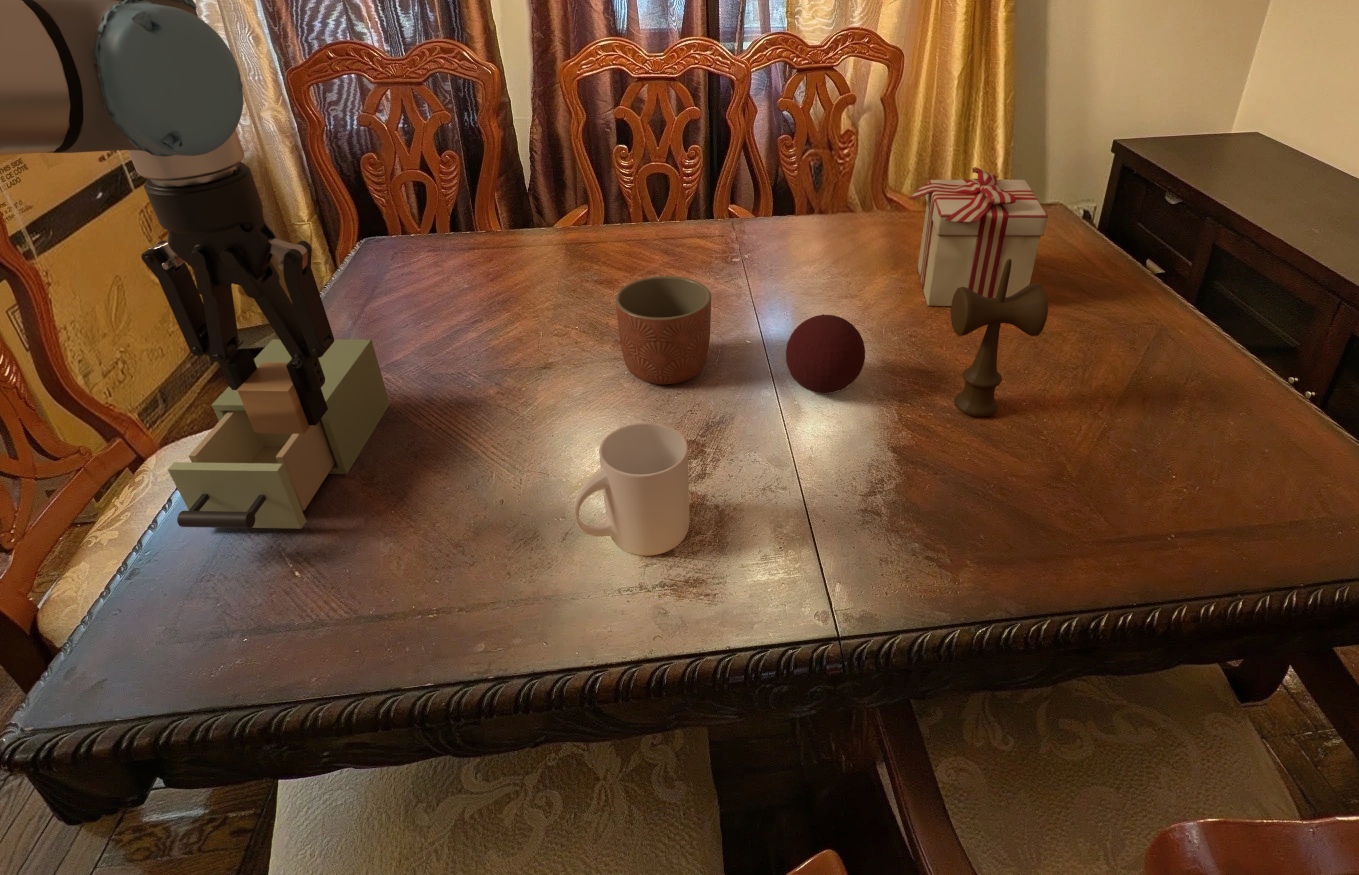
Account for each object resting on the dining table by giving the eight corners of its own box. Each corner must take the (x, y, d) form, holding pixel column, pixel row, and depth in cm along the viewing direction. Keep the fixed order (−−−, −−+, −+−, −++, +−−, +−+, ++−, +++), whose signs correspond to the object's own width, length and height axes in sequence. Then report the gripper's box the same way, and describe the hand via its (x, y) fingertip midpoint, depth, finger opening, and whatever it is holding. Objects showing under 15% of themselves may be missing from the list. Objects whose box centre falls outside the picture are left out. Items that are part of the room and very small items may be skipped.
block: (304, 434, 74) (288, 390, 71) (254, 433, 74) (236, 389, 71) (326, 404, 78) (311, 362, 75) (279, 404, 78) (262, 361, 75)
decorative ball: (858, 413, 100) (867, 343, 94) (778, 403, 102) (782, 334, 96) (863, 371, 108) (872, 304, 102) (789, 363, 110) (793, 297, 104)
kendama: (1021, 421, 98) (1064, 269, 86) (942, 423, 98) (973, 271, 86) (1005, 394, 102) (1043, 246, 91) (929, 396, 103) (958, 248, 91)
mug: (565, 528, 84) (553, 446, 78) (668, 493, 88) (664, 413, 82) (595, 581, 78) (584, 498, 72) (704, 541, 82) (703, 459, 76)
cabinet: (347, 474, 93) (323, 405, 87) (241, 472, 93) (211, 404, 88) (390, 403, 104) (371, 339, 99) (296, 403, 105) (272, 338, 99)
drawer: (283, 558, 80) (256, 499, 76) (174, 555, 81) (141, 497, 76) (350, 450, 95) (332, 395, 90) (257, 449, 95) (234, 395, 91)
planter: (702, 397, 104) (702, 322, 97) (610, 389, 106) (603, 315, 99) (718, 349, 113) (718, 278, 107) (633, 342, 116) (628, 272, 109)
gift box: (891, 267, 134) (905, 163, 124) (1003, 266, 133) (1027, 162, 123) (910, 315, 120) (928, 203, 110) (1035, 314, 119) (1065, 201, 109)
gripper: (326, 154, 64) (395, 396, 78) (116, 155, 66) (221, 393, 79) (283, 186, 58) (366, 442, 72) (53, 187, 60) (178, 438, 73)
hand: (290, 416), depth 76 cm, fingers closed on block, 5 cm apart
